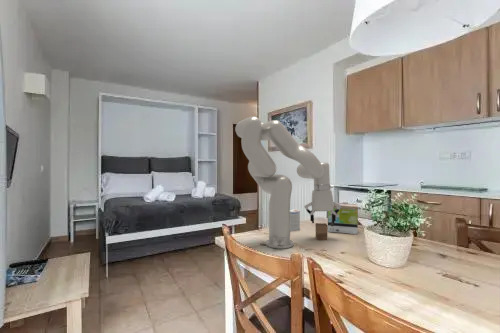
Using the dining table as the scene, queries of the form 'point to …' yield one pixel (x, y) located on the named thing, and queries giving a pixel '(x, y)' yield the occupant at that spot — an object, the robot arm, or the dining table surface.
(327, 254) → the dining table surface
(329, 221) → the tea box
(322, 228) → the walnut block
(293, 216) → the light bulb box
